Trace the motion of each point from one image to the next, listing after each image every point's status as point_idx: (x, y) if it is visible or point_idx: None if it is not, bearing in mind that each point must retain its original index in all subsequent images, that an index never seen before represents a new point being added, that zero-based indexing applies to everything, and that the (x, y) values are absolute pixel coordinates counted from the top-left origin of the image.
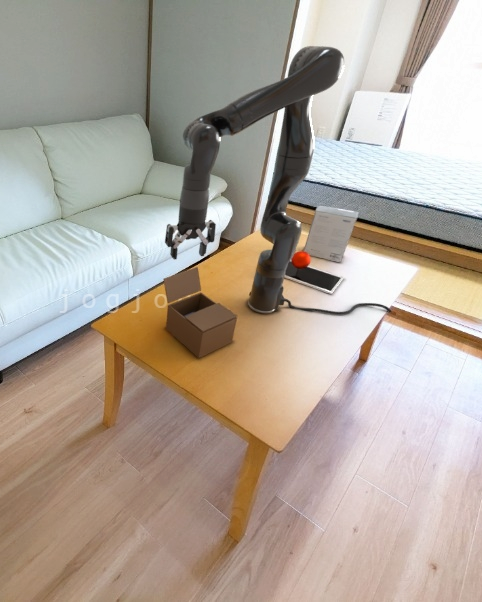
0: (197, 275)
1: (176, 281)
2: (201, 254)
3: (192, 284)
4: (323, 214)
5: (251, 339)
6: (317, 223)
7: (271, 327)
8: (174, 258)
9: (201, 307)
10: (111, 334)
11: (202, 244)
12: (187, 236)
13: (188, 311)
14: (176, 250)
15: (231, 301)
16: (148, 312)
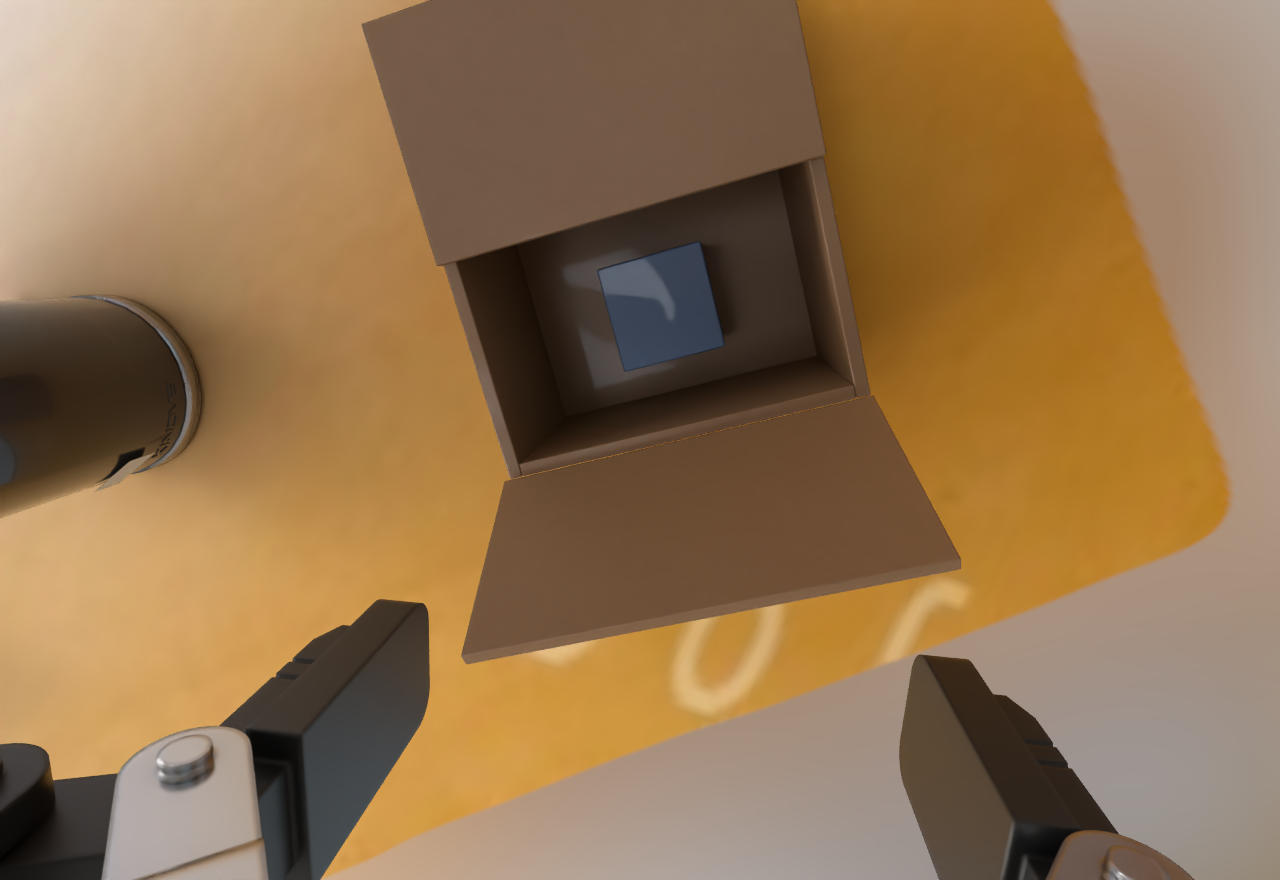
0: (497, 582)
1: (772, 536)
2: (412, 630)
3: (580, 516)
4: None
5: (331, 86)
6: None
7: (153, 162)
8: (972, 669)
9: (540, 408)
10: (1208, 421)
11: (298, 788)
12: None
13: (645, 409)
14: (1024, 783)
15: (286, 490)
16: None
